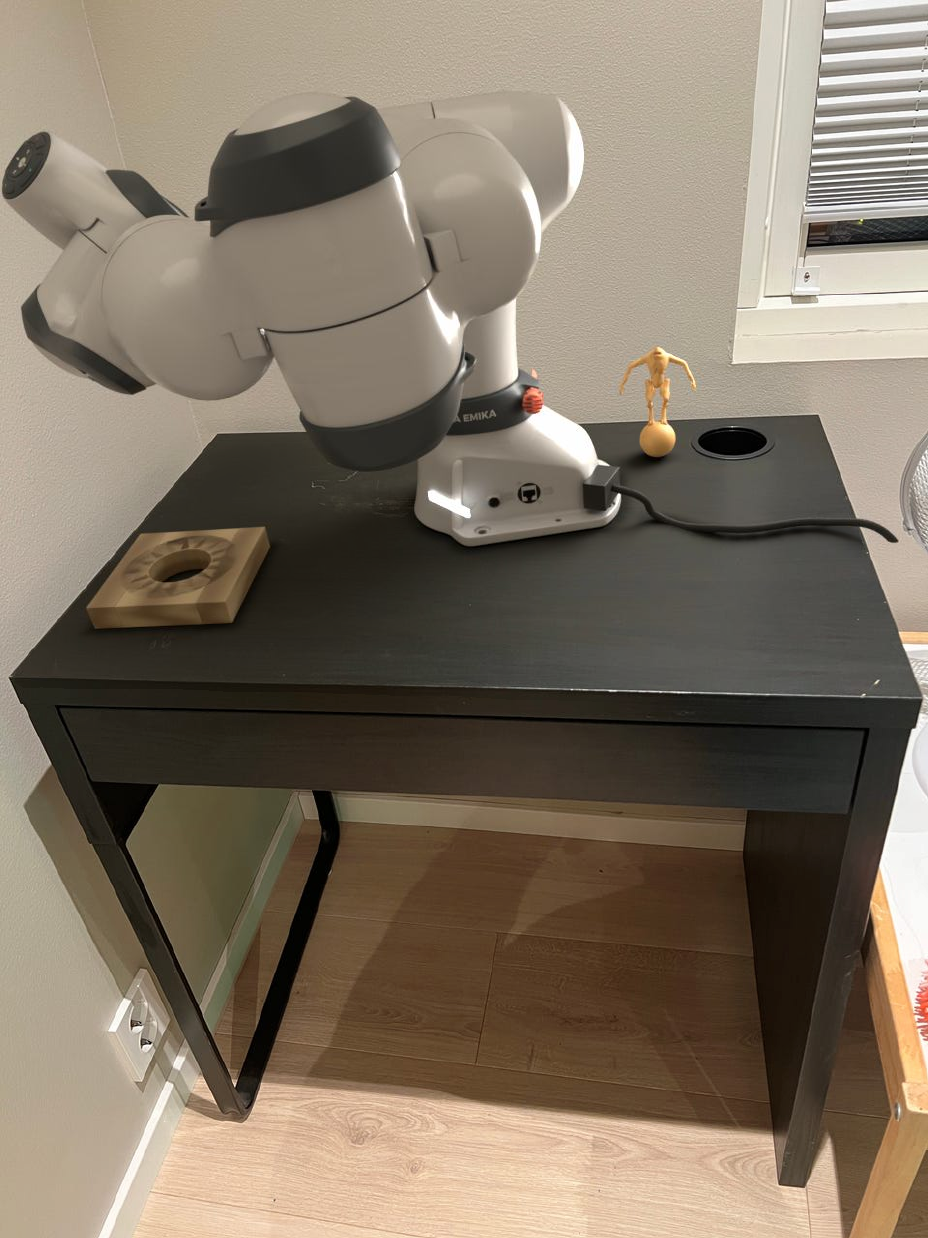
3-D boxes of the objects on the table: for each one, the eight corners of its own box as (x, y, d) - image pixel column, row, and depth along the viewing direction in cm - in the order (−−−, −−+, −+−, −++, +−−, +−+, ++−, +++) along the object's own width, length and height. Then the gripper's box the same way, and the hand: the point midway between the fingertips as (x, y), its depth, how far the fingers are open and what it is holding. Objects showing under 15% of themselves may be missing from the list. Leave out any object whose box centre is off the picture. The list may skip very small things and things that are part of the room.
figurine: (620, 464, 105) (618, 361, 98) (621, 441, 110) (619, 342, 103) (695, 461, 104) (698, 357, 97) (693, 438, 108) (696, 337, 101)
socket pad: (270, 546, 99) (265, 526, 98) (232, 623, 88) (225, 601, 86) (147, 553, 101) (140, 533, 100) (94, 629, 90) (85, 608, 88)
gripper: (71, 282, 101) (161, 340, 113) (213, 287, 92) (293, 350, 104) (88, 229, 101) (175, 292, 114) (230, 228, 92) (308, 297, 105)
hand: (233, 320), depth 109 cm, fingers closed on chess pawn, 3 cm apart
